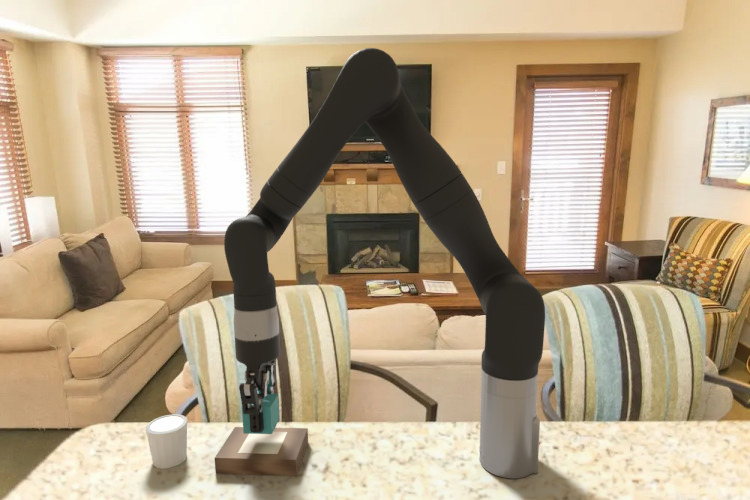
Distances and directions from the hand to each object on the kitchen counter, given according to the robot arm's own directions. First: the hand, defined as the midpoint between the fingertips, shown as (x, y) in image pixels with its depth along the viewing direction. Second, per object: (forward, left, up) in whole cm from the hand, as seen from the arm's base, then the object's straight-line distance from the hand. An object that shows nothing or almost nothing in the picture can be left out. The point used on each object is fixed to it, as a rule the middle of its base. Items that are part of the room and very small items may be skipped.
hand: (261, 422), depth 86 cm
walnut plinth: (0, 0, -7) cm, 7 cm away
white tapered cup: (+17, +1, -7) cm, 18 cm away
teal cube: (0, 0, -1) cm, 1 cm away
